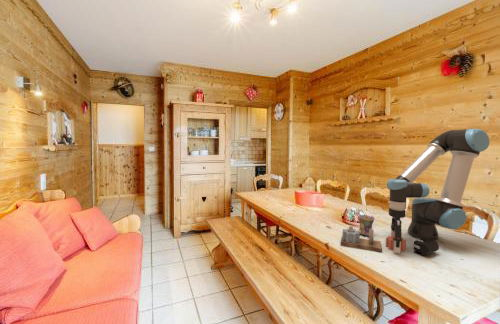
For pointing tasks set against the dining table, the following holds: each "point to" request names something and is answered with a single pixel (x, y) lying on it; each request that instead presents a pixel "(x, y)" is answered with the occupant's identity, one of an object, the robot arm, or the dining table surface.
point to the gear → (351, 236)
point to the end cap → (425, 246)
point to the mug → (365, 224)
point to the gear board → (364, 242)
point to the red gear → (391, 243)
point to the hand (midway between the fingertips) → (395, 247)
